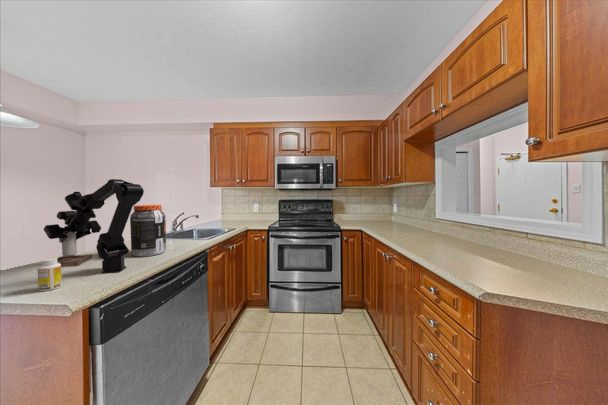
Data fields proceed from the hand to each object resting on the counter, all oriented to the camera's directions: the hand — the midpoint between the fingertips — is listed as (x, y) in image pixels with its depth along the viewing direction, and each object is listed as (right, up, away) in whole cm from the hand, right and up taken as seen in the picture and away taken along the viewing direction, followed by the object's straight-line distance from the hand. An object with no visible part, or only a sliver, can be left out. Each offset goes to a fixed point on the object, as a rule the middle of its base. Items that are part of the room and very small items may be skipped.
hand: (67, 240), depth 111 cm
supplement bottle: (+22, -12, -28) cm, 38 cm away
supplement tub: (+27, -10, +18) cm, 33 cm away
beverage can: (+1, -7, 0) cm, 7 cm away
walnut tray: (+1, -10, 0) cm, 10 cm away
